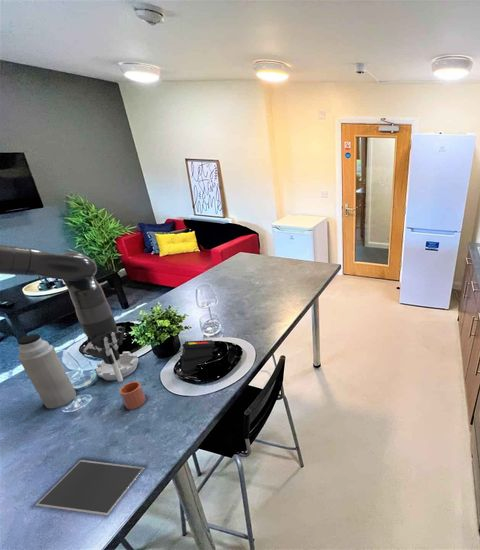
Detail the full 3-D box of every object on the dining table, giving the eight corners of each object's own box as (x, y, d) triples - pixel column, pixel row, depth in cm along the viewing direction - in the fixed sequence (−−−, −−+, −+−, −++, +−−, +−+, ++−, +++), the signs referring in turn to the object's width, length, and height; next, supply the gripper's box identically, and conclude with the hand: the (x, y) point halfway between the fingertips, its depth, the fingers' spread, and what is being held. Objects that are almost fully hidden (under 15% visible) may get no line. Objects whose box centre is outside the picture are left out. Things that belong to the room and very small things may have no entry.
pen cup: (137, 411, 102) (130, 394, 99) (122, 409, 102) (115, 393, 99) (150, 398, 107) (144, 382, 104) (135, 397, 108) (129, 380, 104)
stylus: (121, 384, 97) (108, 350, 92) (117, 383, 97) (104, 350, 92) (125, 381, 98) (112, 347, 93) (121, 380, 99) (108, 347, 93)
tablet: (108, 517, 73) (106, 515, 73) (36, 507, 75) (34, 505, 74) (145, 469, 84) (144, 467, 84) (81, 461, 86) (80, 459, 85)
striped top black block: (173, 375, 116) (183, 341, 115) (206, 371, 126) (216, 339, 126) (176, 380, 114) (187, 345, 113) (210, 375, 124) (220, 343, 123)
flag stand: (138, 376, 117) (115, 313, 104) (96, 388, 111) (66, 322, 98) (142, 357, 127) (121, 298, 115) (103, 367, 121) (77, 305, 109)
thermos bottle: (47, 399, 105) (12, 336, 94) (77, 389, 110) (47, 327, 98) (45, 414, 100) (7, 348, 88) (76, 402, 104) (44, 339, 93)
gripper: (104, 304, 94) (120, 347, 101) (60, 327, 81) (82, 375, 88) (126, 306, 93) (140, 349, 100) (85, 330, 81) (104, 377, 88)
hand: (113, 361), depth 94 cm, fingers closed on stylus, 1 cm apart
